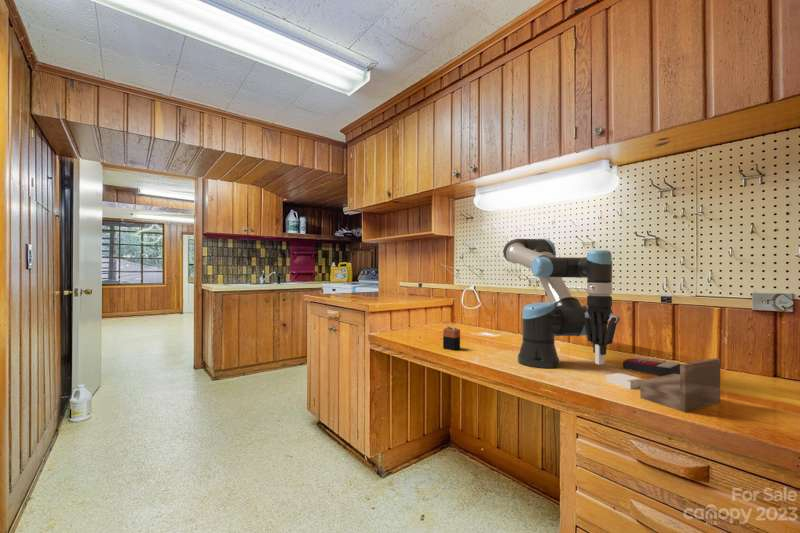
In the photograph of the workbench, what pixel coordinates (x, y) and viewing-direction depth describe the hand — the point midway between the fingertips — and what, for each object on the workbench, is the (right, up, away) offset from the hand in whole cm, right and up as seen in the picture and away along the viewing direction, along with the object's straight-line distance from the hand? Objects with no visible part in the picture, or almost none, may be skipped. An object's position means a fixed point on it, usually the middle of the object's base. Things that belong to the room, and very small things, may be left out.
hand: (599, 363), depth 122 cm
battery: (-45, -5, +40) cm, 61 cm away
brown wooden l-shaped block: (+10, -4, -22) cm, 25 cm away
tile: (+4, -5, -8) cm, 10 cm away
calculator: (+23, -5, +7) cm, 25 cm away
